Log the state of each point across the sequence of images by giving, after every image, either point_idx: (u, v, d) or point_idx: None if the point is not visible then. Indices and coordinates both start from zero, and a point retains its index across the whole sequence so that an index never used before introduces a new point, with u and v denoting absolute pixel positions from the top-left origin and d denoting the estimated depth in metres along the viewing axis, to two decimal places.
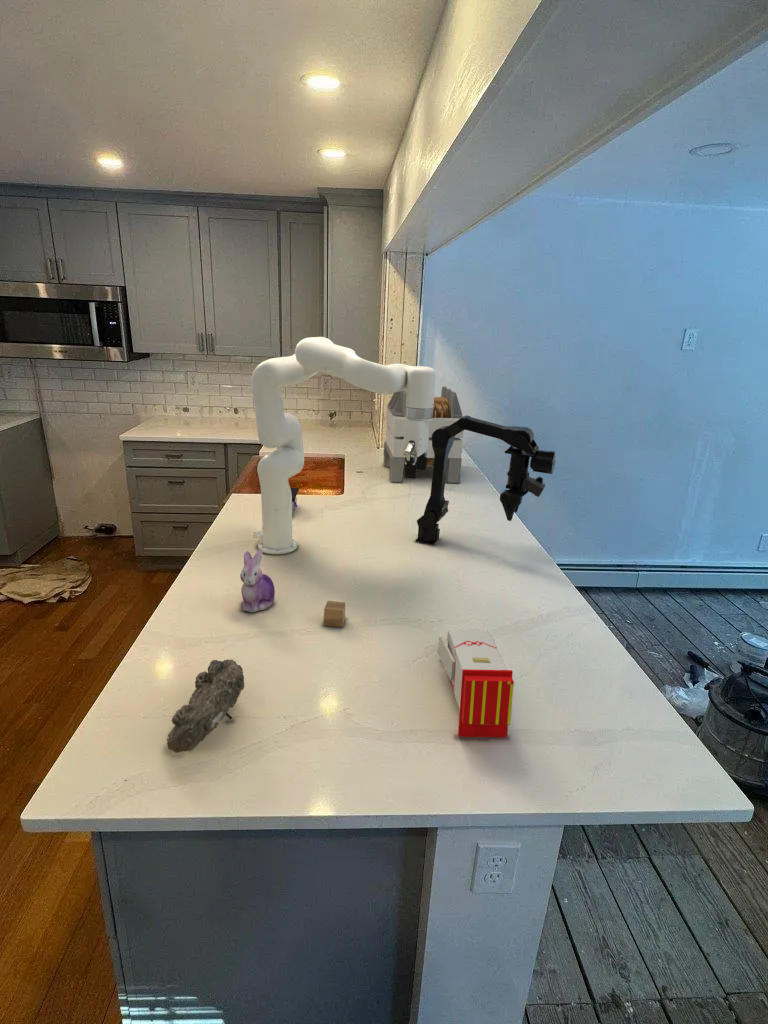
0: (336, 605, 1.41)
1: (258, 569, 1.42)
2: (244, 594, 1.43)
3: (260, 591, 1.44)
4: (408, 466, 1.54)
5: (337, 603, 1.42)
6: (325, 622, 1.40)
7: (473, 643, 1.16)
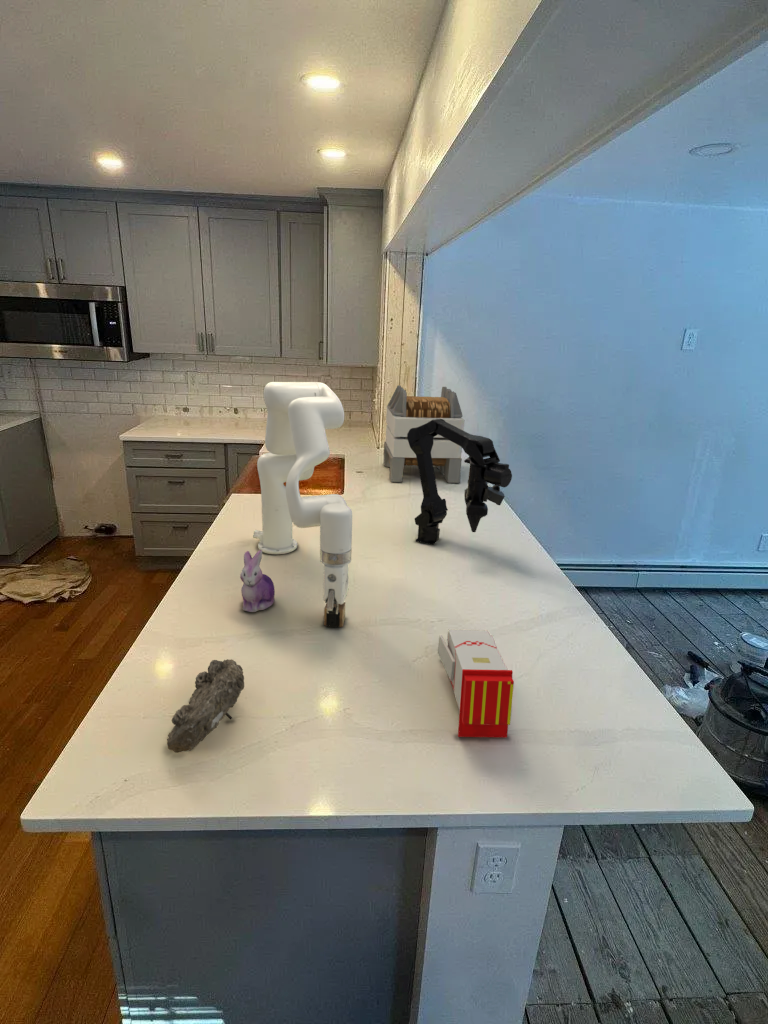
0: None
1: (258, 569, 1.42)
2: (244, 594, 1.43)
3: (260, 591, 1.44)
4: None
5: None
6: (325, 622, 1.40)
7: (473, 643, 1.16)
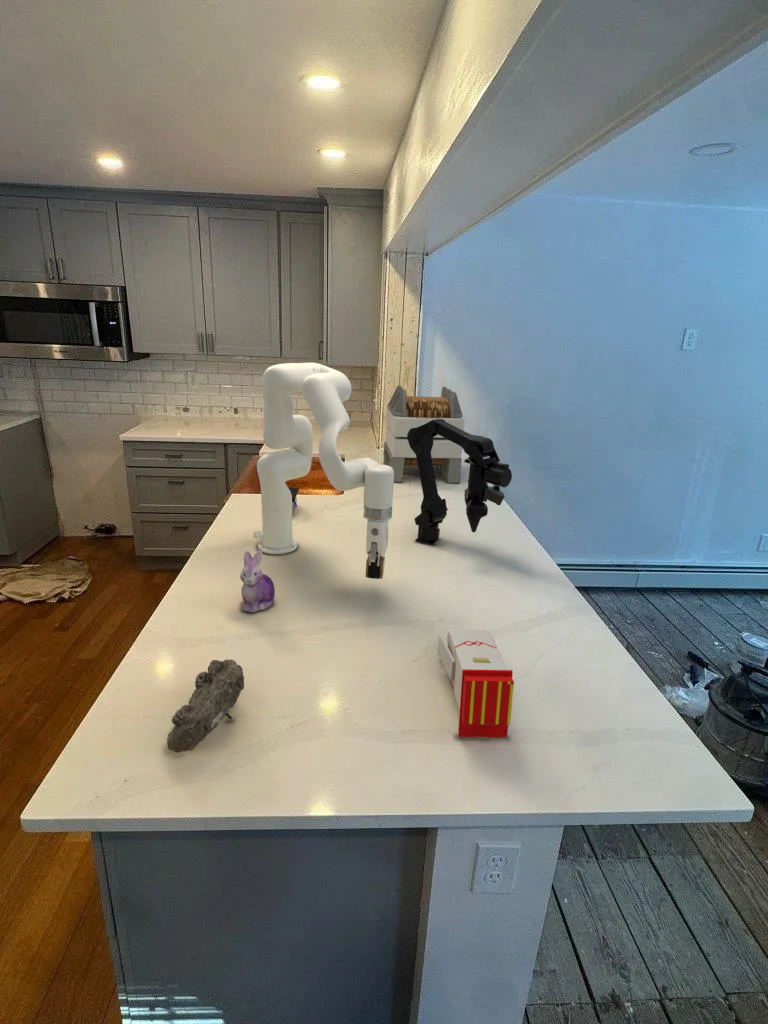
0: None
1: (258, 569, 1.42)
2: (244, 594, 1.43)
3: (260, 591, 1.44)
4: None
5: None
6: (366, 574, 1.53)
7: (473, 643, 1.16)
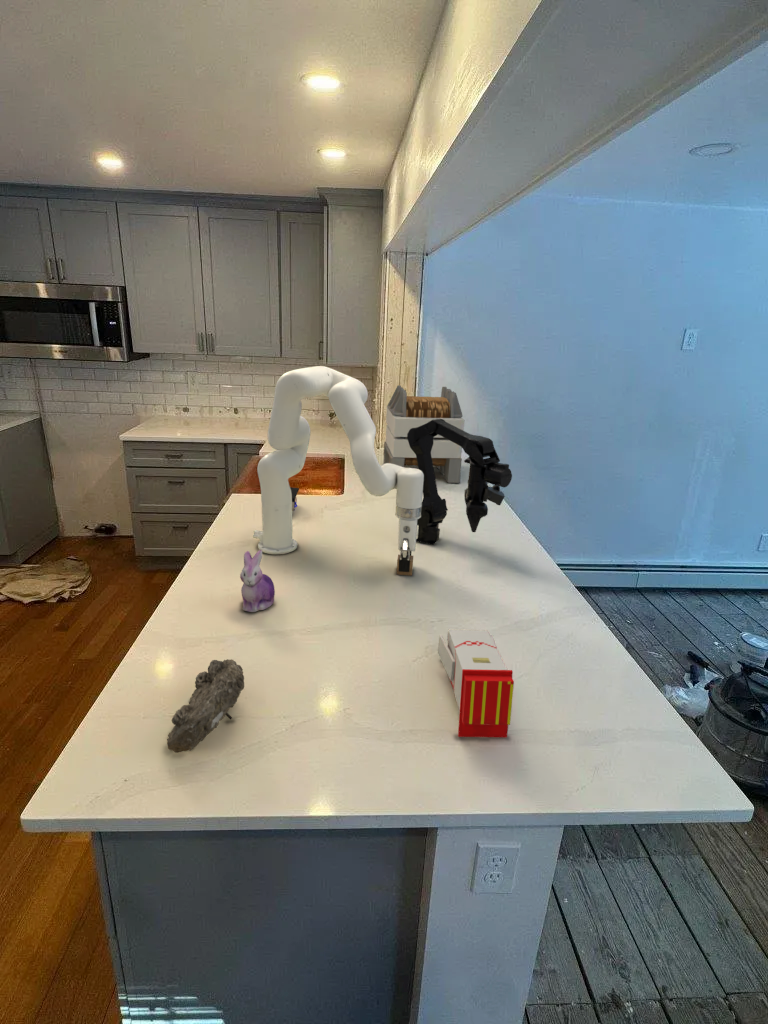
0: None
1: (258, 569, 1.42)
2: (244, 594, 1.43)
3: (260, 591, 1.44)
4: None
5: None
6: (397, 571, 1.69)
7: (473, 643, 1.16)
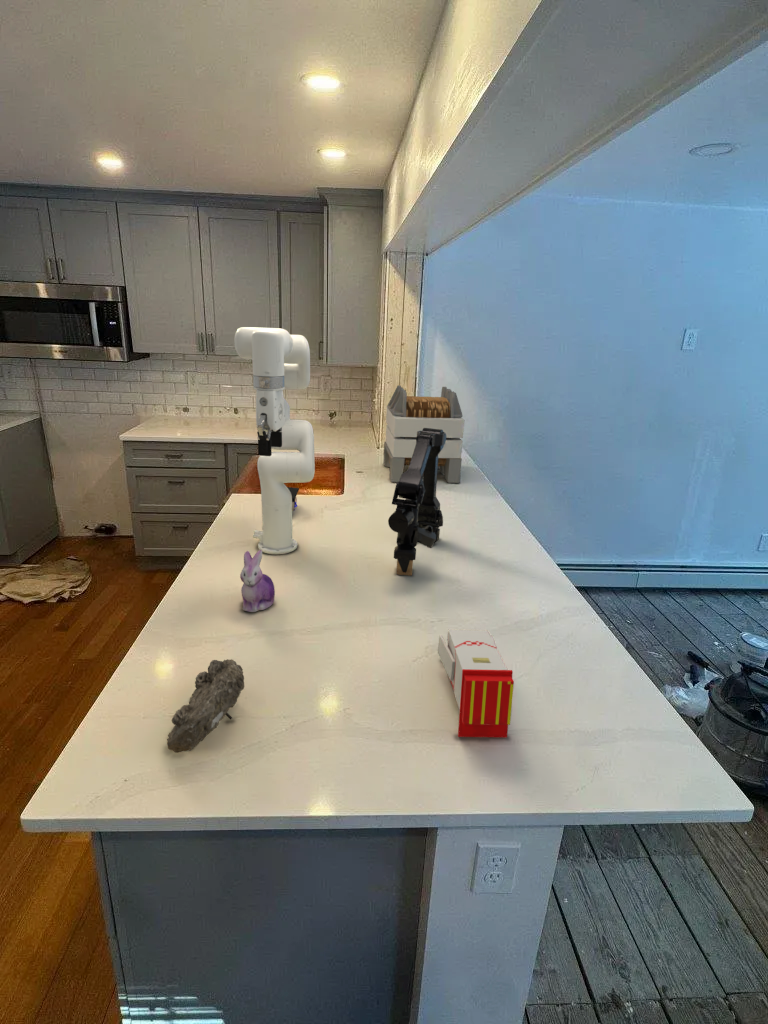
0: None
1: (258, 569, 1.42)
2: (244, 594, 1.43)
3: (260, 591, 1.44)
4: None
5: None
6: (397, 571, 1.69)
7: (473, 643, 1.16)
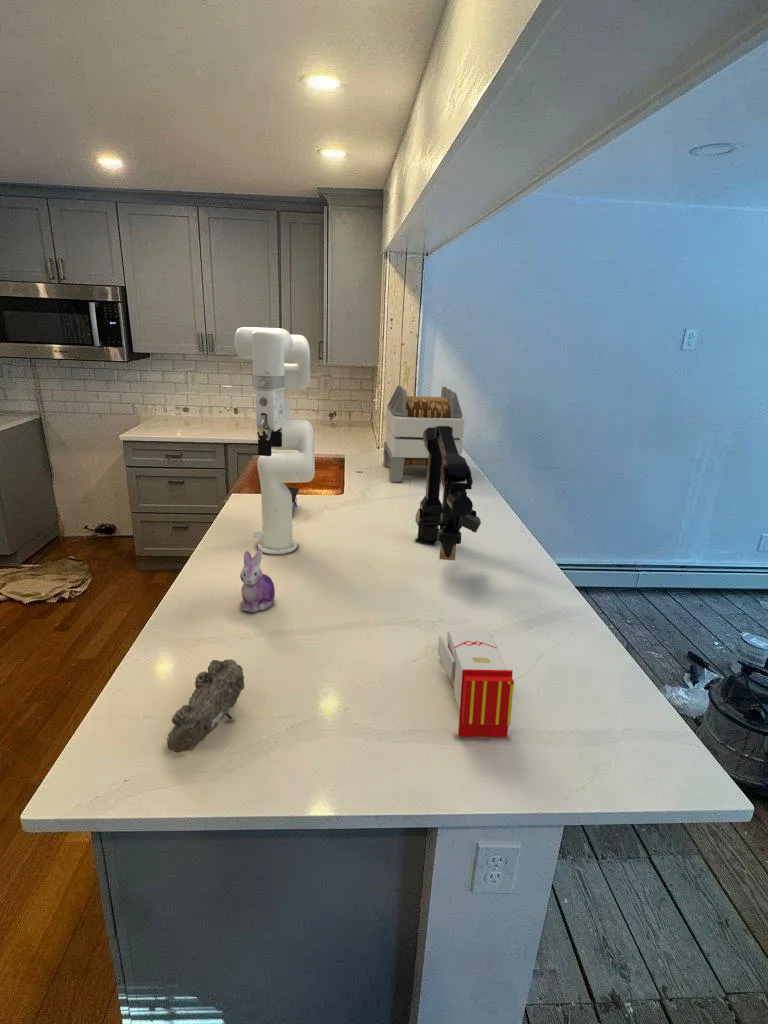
0: None
1: (258, 569, 1.42)
2: (244, 594, 1.43)
3: (260, 591, 1.44)
4: None
5: None
6: (440, 556, 1.66)
7: (473, 643, 1.16)
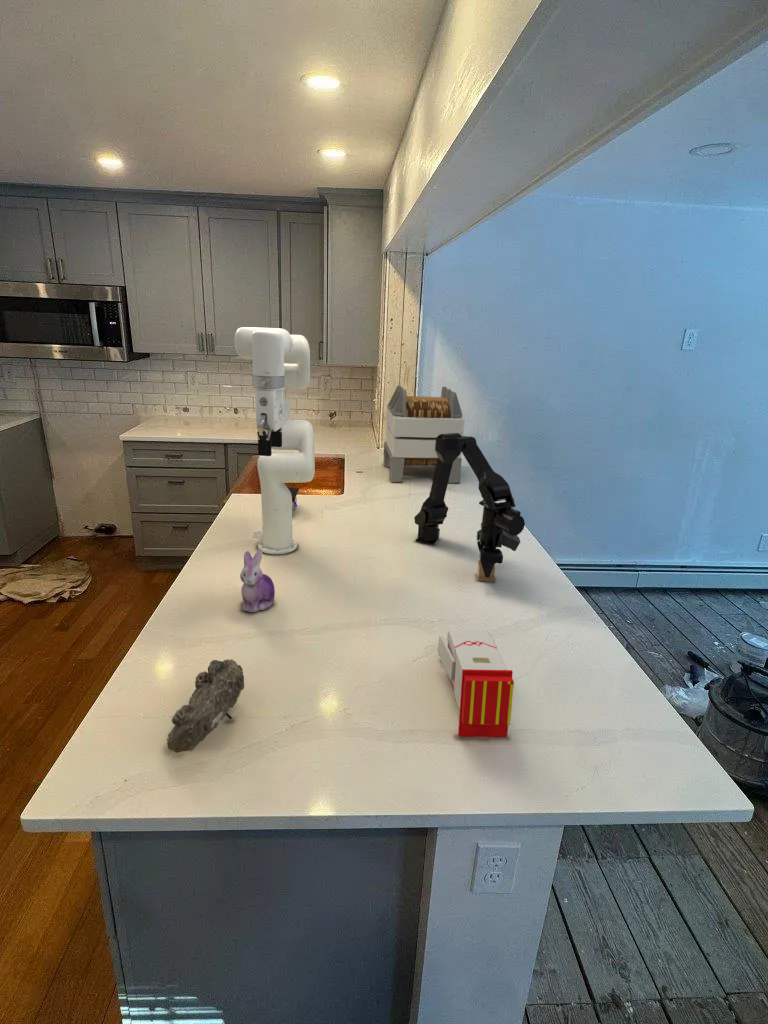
0: None
1: (258, 569, 1.42)
2: (244, 594, 1.43)
3: (260, 591, 1.44)
4: None
5: None
6: (479, 578, 1.67)
7: (473, 643, 1.16)
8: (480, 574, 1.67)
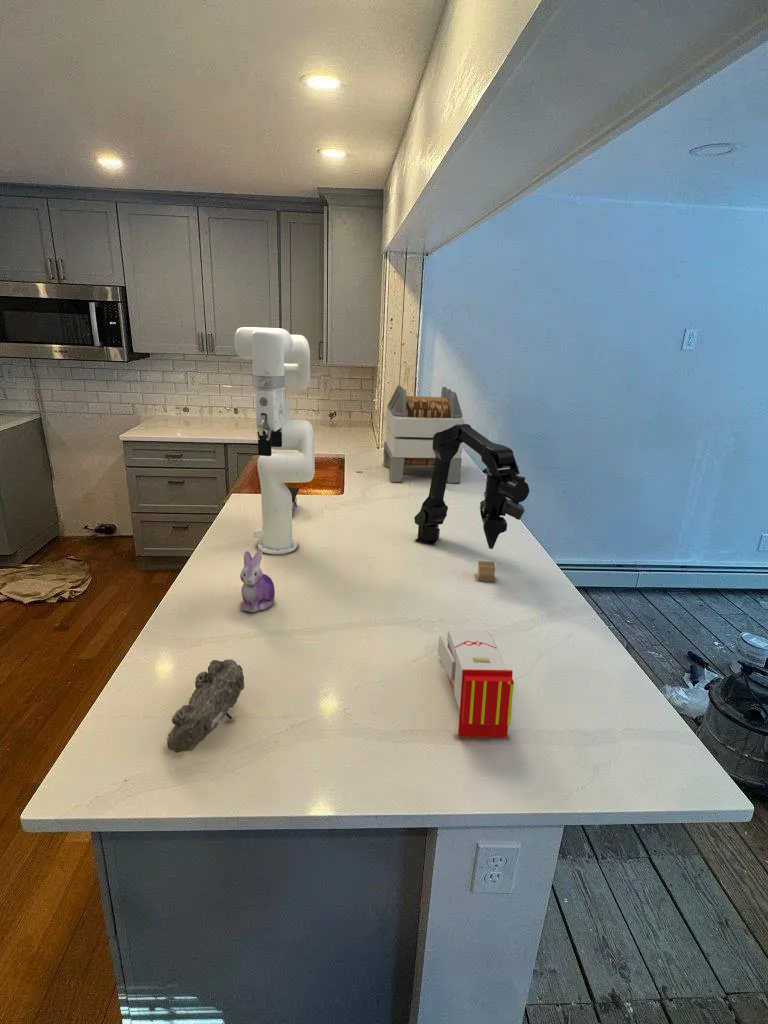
0: (488, 563, 1.68)
1: (258, 569, 1.42)
2: (244, 594, 1.43)
3: (260, 591, 1.44)
4: None
5: (488, 562, 1.69)
6: (479, 578, 1.67)
7: (473, 643, 1.16)
8: (480, 574, 1.67)
